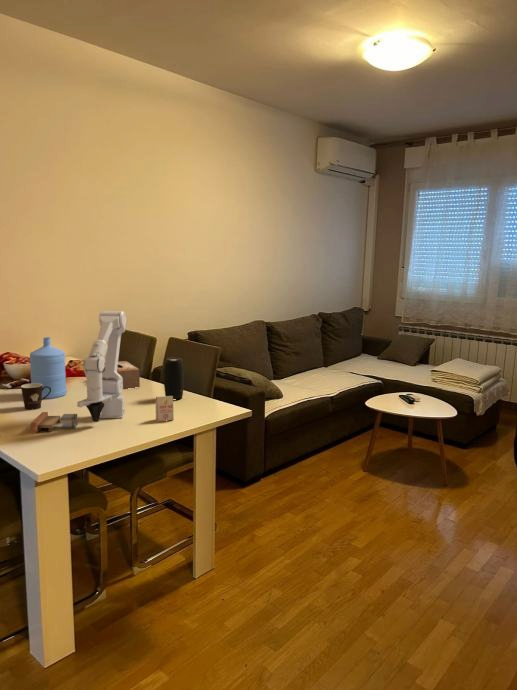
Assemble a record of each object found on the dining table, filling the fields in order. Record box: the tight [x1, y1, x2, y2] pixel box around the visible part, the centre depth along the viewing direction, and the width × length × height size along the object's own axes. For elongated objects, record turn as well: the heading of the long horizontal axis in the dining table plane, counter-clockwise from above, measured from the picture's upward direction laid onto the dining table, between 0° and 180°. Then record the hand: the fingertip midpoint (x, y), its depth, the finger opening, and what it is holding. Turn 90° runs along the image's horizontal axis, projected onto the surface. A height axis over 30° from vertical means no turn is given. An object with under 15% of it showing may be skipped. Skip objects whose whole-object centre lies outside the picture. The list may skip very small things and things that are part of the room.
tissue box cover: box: [102, 360, 141, 390], centre depth 265 cm, size 26×14×10 cm, turn 29°
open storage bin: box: [60, 413, 79, 430], centre depth 193 cm, size 5×5×4 cm
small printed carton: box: [155, 396, 174, 422], centre depth 204 cm, size 4×7×10 cm, turn 108°
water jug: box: [29, 336, 68, 400], centre depth 238 cm, size 16×16×28 cm
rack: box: [30, 411, 61, 434], centre depth 193 cm, size 7×14×4 cm, turn 6°
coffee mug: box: [20, 383, 51, 411], centre depth 218 cm, size 12×9×10 cm
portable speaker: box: [163, 356, 185, 400], centre depth 237 cm, size 9×9×20 cm
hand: (95, 421), depth 195 cm, fingers closed
